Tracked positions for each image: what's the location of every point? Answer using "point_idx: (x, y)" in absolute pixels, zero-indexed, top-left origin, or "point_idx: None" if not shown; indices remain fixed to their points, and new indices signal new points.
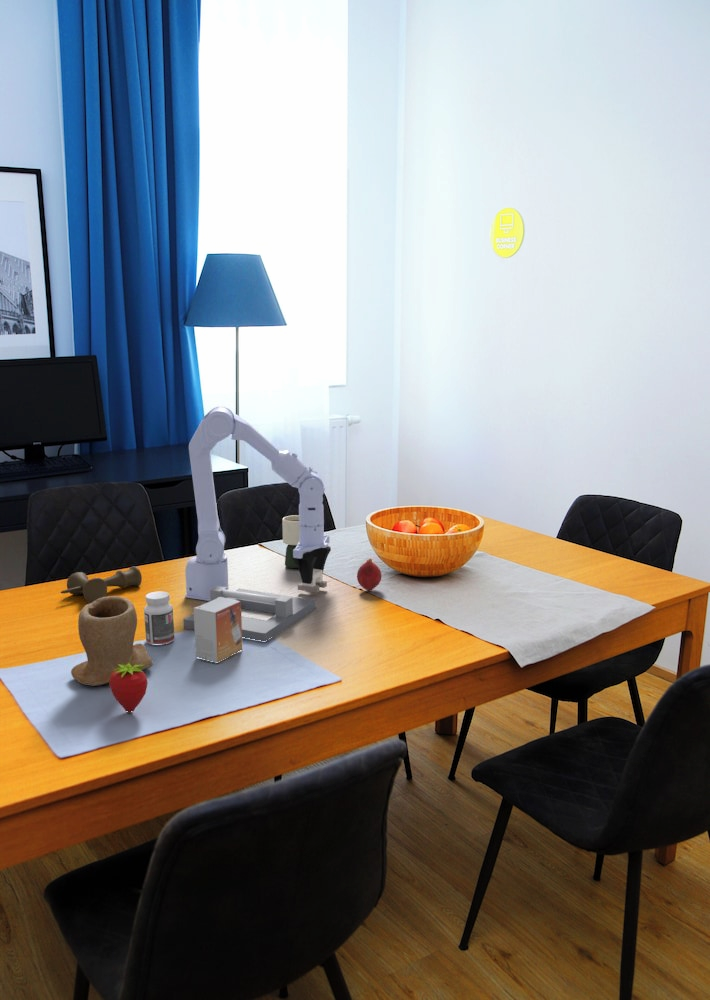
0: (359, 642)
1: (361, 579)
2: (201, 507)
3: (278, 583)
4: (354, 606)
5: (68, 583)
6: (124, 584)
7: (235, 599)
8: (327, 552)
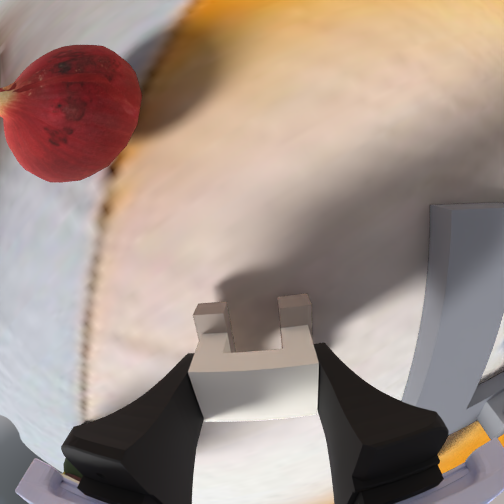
0: (499, 13)
1: (132, 106)
2: None
3: (242, 443)
4: (329, 66)
5: None
6: None
7: (468, 409)
8: (119, 437)
